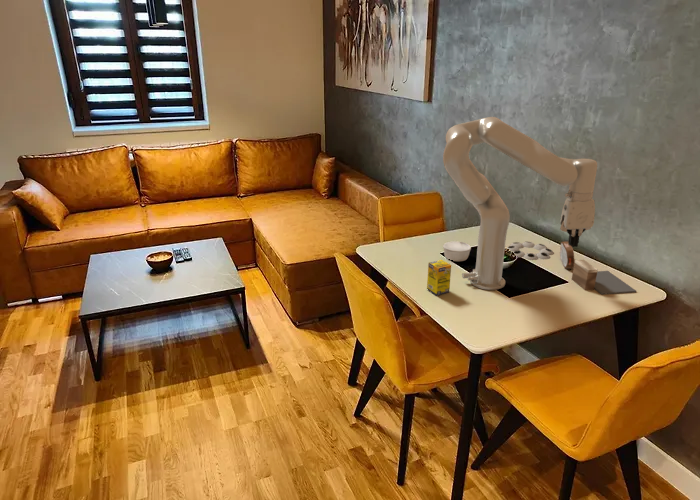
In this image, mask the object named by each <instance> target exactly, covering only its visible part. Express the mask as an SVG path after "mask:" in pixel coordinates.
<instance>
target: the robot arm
mask: <svg viewBox="0 0 700 500" xmlns="http://www.w3.org/2000/svg"><path fill="white" fill-rule="evenodd" d="M445 142H446V144H445V147H444V150H443V154H442V160H443V161H442V162H443V166H444V169H445V170H446V172H447V174H448V175H449V177H450V178H451V179H452V181H453V182H454V183H455V185H456V186H457V187H458V189H459V191H460V192H461V193H462V195H463V197H464V198H465V200H466V201H468V202H469V203H470V204H471V205H472V206H473V207H474V208H475V210H476V211H477V212H478V214H479V218H480V225H479V229H478V238H477V249H476V262H475V268H473V269H472V271H470V272H464V273H463V272H462V274H461V277H462V279H467V281H469V282H470V284H471V285H472V286H474V287H476V288H478V289H482V290H487V291H488V290H489V291H496V290H499V289H502V288H504V287H505V285H506V280H505V279H504V278H503V277H502V276H503V267H504V266H503V265H504V257H505V251H506V240H507V235H508V234H507V233H508V229H509V225H510V217H511V216H510V212H509V209H508V207H507V204H506V203H505V202H504V200H503V199H502V198H501V196H500V195H499V193H498V192H497V191H496V190H495V188H494V187H493V185H492V184H491V183H490V182H489V180H488V178H487V177H486V175H484V174H483V173H481V172H479V171H478V169H477V168H476V166H475V165H474V163H473V162H472V160H471V159H470V156H469V155H470V151H471V149H472V147H473V146H475V145H479V144H480V145H481V144H483V143H485V144H486V145H488V146H490V147H492V148H493V149H495V150H497V151H499V152H501V153H502V154H505V155H507V156H508V157H510V158H511V159H513V160H515V161H516V162H518V163H519V164H521V165H522V166H525V167H527V168H529V169H530V170H532V171H534V172H536V173H537V174H539V175H541V176H542V177H543V178H545V179H548V180H549V181H551V182H552V183H555V184H556V185H558V186H561V187H567V186H569V188H568V189H569V190H568V192H567V193H566V192H565V194H564V197H565V201H564V204H563V207H562V209H561V215H560V220H559V221H560V223H559V224H560V228H559V230H560V231H561V232H566V233H567V234H568V240H567V241H568V243H569V245H570V246H572V248H578V245H579V242H580V237H581V236H582V235H583V233H584V232H585V231H588V230H591V229H592V227H593V226H594V223H595V215H596V212H595V211H596V205H595V200H594V199H593V196H594V189H595V183H596V175H597V171H598V162H597V161H596V160H595V159H591V158H576V159H575V158H568V157H566V158H565V157H560V156H558V155H556V154H554V153H553V152H552V151H549V150H548V148H545V147H544V146H543V145H542V144H540V143H539V142H538V141H537V140H535V139H533V138H531V136H528V135H527V134H525V133H523V132H521V131H520V130H518V129H516V128H514V127H513V126H510V125H509V124H507V123H506V122H504V121H502V120H501V119H500V118H498V117H496V116H488V117H483V118H479V119H474V120H470V121H467V122H462V123H458V124H455V125H453V126H451V127H450V128H449V129H448V130H447V131H446V134H445Z"/></svg>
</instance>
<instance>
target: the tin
mask: <svg viewBox="0 0 700 500" xmlns="http://www.w3.org/2000/svg"><path fill="white" fill-rule="evenodd" d="M559 257H560V259H559V260H560V261H561V263H562V265H563V267H564V269H571V270H572V269H573V268H574V263H575V252H574V247H572V246H570V245H569V243H568V240H567V241H561V242H560V251H559Z"/></svg>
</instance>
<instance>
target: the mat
mask: <svg viewBox="0 0 700 500" xmlns="http://www.w3.org/2000/svg"><path fill="white" fill-rule="evenodd" d="M594 290H595V291H596V292H598V293H599V294H600V295H615V294H616V295H617V294H631V293H637V290H636V289H634V287H632V286H630V285H629V284H628V283H626V282H625V281H623V280H622V279H620V278H619V277H618V276H616V275H615V274H613V273H612V272H610V271H609V270H601V271H599V270H598V271H597V276H596V281H595V287H594Z"/></svg>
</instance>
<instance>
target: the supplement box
mask: <svg viewBox="0 0 700 500" xmlns="http://www.w3.org/2000/svg"><path fill="white" fill-rule="evenodd" d="M427 266H428V267H427V284H426V290H427V289H428V290H429V292H430V291H431V292H432V293H431V292H430V293H431V294H433V295H434V294H435V297H436V296H437V295H438V296H440V295H444V294H448V293H450V286H451V277H452V274H451V273H452V265H451V264H450V263H449V262H446V261H445V260H443V259H438V260H435V261H429V262H428V265H427ZM428 290H427V291H428Z"/></svg>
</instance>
